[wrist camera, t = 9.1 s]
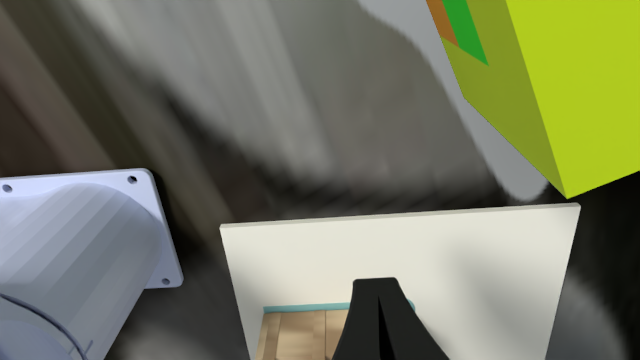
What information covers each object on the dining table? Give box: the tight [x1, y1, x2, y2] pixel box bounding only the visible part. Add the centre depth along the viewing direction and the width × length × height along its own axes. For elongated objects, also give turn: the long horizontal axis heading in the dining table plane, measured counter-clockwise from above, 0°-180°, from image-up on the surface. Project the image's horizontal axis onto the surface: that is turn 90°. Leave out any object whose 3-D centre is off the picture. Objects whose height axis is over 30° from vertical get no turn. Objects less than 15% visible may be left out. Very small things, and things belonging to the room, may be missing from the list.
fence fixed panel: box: [255, 309, 381, 360], centre depth 24 cm, size 9×1×5 cm, turn 95°
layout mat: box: [220, 203, 581, 360], centre depth 27 cm, size 20×18×1 cm
